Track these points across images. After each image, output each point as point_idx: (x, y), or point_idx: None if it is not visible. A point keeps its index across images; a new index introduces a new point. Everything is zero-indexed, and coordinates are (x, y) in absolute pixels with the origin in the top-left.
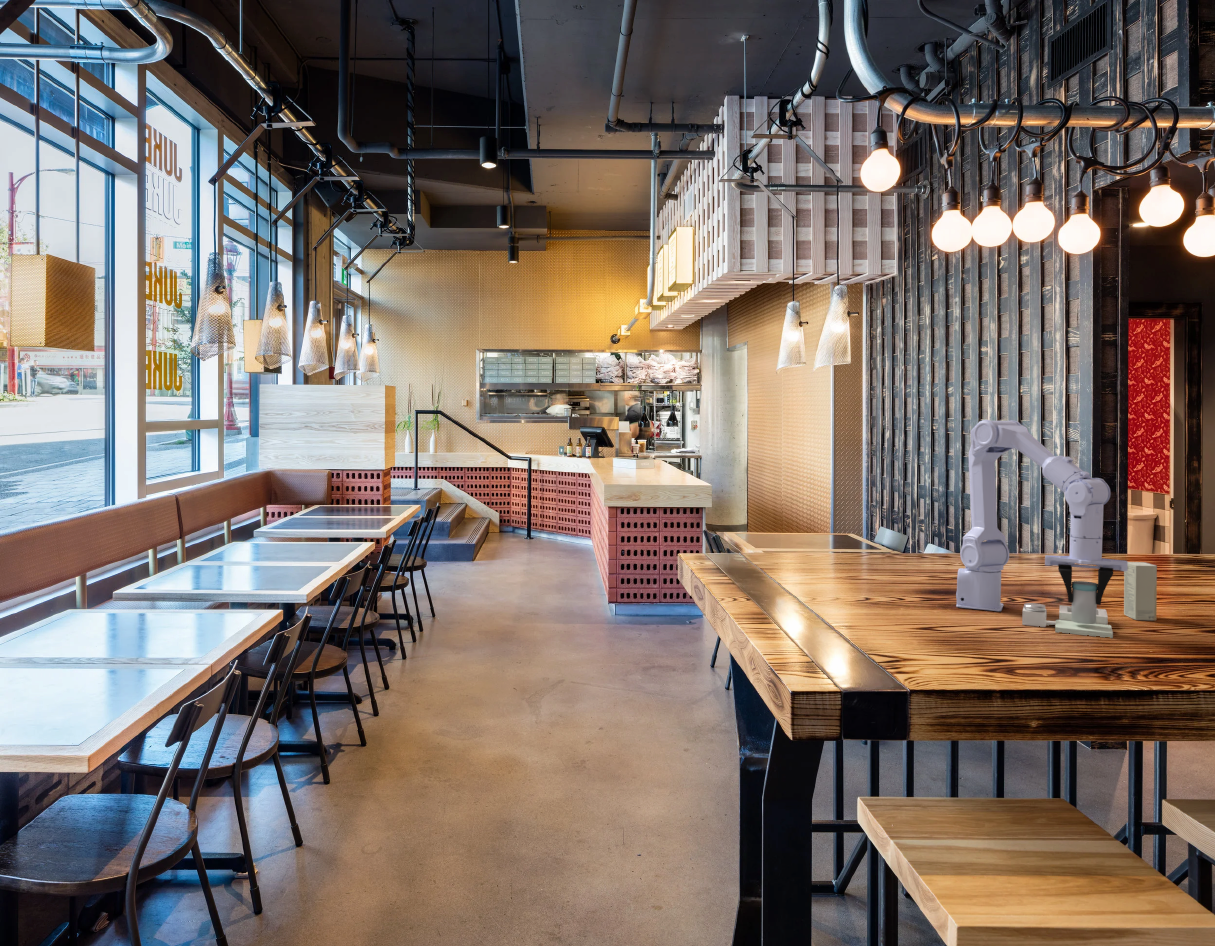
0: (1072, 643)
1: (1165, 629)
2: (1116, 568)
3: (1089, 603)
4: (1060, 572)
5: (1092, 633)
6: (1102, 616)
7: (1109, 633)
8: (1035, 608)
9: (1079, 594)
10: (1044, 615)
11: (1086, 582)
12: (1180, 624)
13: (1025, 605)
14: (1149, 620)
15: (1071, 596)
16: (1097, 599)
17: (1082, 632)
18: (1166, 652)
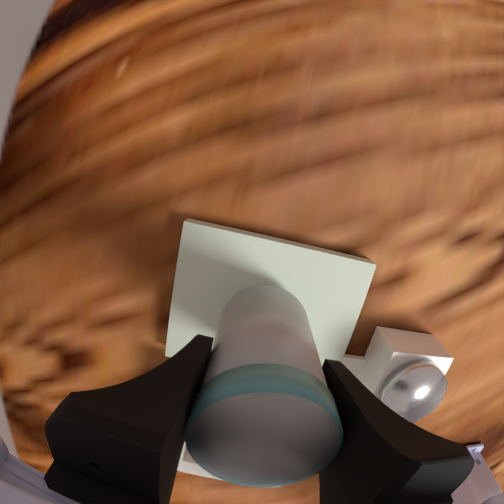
0: (354, 90)
1: (48, 378)
2: (28, 476)
3: (252, 327)
4: (465, 445)
5: (253, 233)
6: None
7: (195, 223)
8: (427, 365)
9: (307, 361)
10: (395, 346)
11: (245, 465)
12: (33, 420)
13: (446, 383)
14: None
15: (337, 372)
16: (207, 345)
17: (286, 241)
18: (84, 75)
